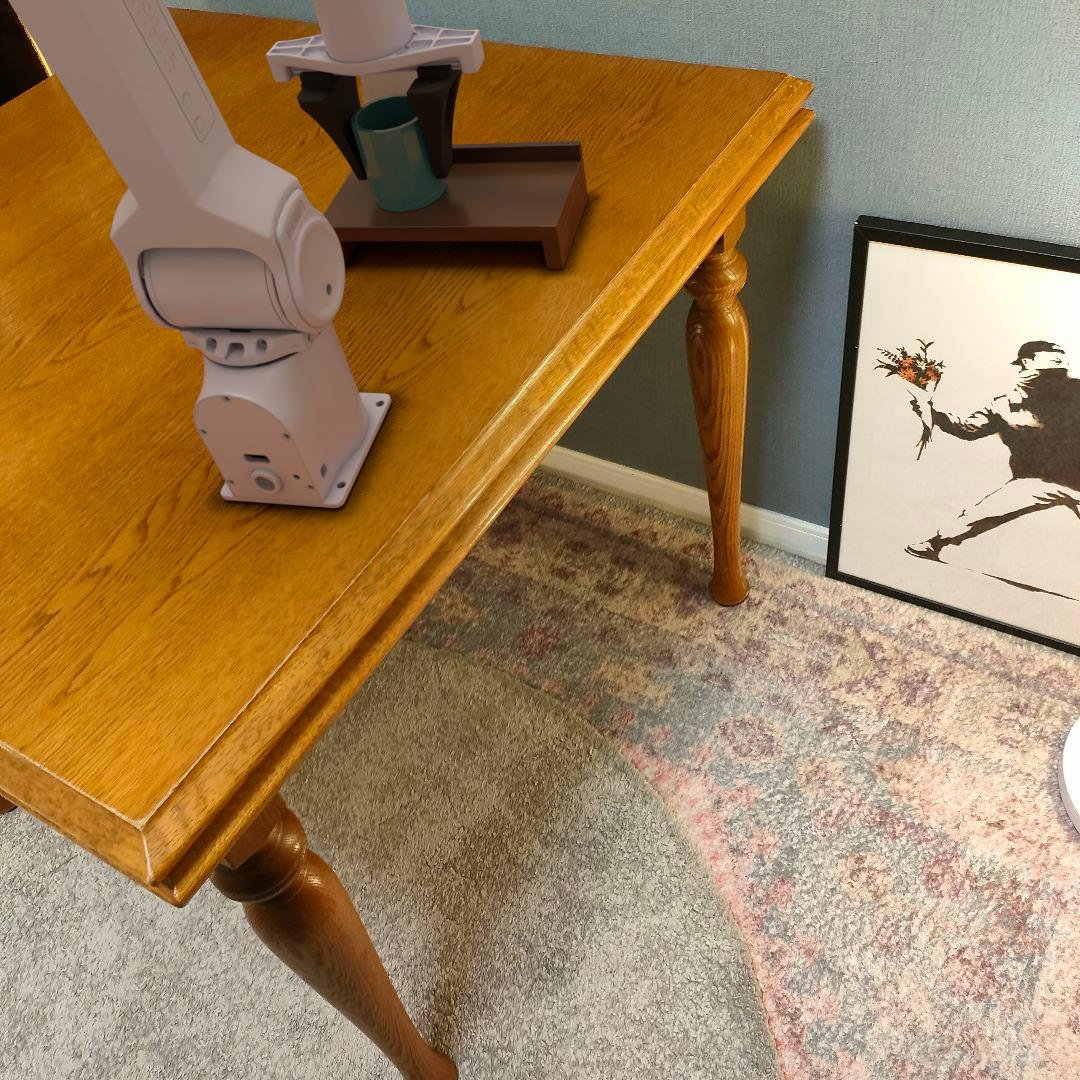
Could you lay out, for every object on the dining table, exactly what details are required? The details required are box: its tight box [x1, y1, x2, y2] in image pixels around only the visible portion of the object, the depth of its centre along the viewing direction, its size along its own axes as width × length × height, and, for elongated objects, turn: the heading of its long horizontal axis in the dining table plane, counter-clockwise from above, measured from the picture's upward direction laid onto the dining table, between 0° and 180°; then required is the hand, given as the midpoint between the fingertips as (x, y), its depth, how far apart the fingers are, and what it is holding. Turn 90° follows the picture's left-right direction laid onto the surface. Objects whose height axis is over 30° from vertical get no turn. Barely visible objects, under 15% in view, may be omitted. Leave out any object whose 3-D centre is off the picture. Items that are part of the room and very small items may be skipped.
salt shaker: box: [359, 71, 418, 106], centre depth 83 cm, size 6×6×13 cm
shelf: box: [323, 140, 589, 271], centre depth 73 cm, size 9×18×5 cm, turn 77°
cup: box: [351, 94, 447, 212], centre depth 71 cm, size 5×5×6 cm
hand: (405, 172), depth 72 cm, fingers closed on cup, 5 cm apart
